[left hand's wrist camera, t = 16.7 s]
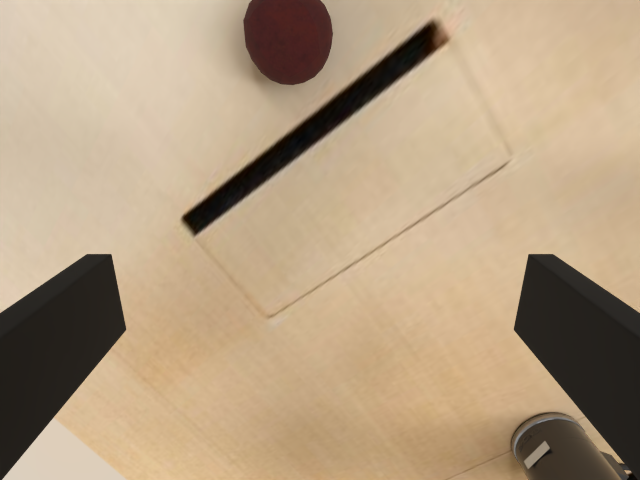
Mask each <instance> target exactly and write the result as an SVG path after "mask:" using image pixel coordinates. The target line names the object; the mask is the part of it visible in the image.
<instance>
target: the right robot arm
mask: <svg viewBox="0 0 640 480" xmlns="http://www.w3.org/2000/svg"><path fill="white" fill-rule="evenodd" d="M511 448H512V451H513V454H514V455H515V457H516V459H517V461H518V462H519V463H520V465H521V467H522V469H523V471H524V472H525V474H526V476H527V478H528V480H626V479H627V478H628V477H629V476H628V475H627V474H626V473H625V471H624V470H630V469H629V468H628V467H627V466H626V464H618V463H617V461H616V460H615V459H614V458H613V457H612V455H609V454H607V453H604V452H601V451H599V450H598V448H597V447H596V446H595V445H594V443H593V442H592V441H591V439H590V438H589V437H588V436H587V434H586V433H585V431H584V429H583V428H582V427H581V426H580V424H579V423H578V422H577V421H576V420H575V419H574V418H572V417H570V416H568V415H565V414H560V413H548V414H542V415H539V416H536V417H533V418H531V419H530V420H528V421H526V422H525V423H523V424H522V425H521V426H520V427H519V428H518V429H517V431H516V432H515V434H514V436H513V438H512V442H511Z"/></svg>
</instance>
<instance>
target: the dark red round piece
mask: <svg viewBox="0 0 640 480" xmlns="http://www.w3.org/2000/svg"><path fill="white" fill-rule="evenodd" d="M244 31H245V42H246V48H247V50H248V52H249V54H250V57H251V59H252V60H253V62H254V63H255V65H256V66H257V67H258V69H259V70H260V71H261V73H263V74H264V75H265V76H267V77H268V78H269V79H270V80H272V81H275V82H277V83H280V84H287V85H294V84H299V83H304V82H306V81H308V80H309V79H311V78H313V77H315V76H316V75H317V74H318V72H319V71H320V70H321V69H322V68H323V66H324V64H325V62H326V60H327V58H328V56H329V52H330V49H331V44H332V36H333V32H332V24H331V19H330V16H329V14H328V11H327V9H326V7H325V5H324V4H323V3H322V2H321V1H320V0H252V1H251V2H250V3H249V6H248V9H247V12H246V15H245V18H244Z"/></svg>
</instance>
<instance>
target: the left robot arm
mask: <svg viewBox="0 0 640 480" xmlns="http://www.w3.org/2000/svg"><path fill="white" fill-rule="evenodd" d="M125 331H126V326H125V321H124V316H123V311H122V306H121V301H120V296H119V290H118V285H117V280H116V275H115V270H114V265H113V260H112V255H111V254H87V255H85V256H84V257H82V258H81V259H79V260H78V261H76V262H75V263H73V264H72V265H70V266H69V267H68V268H66V269H65V270H63V271H62V272H60V273H59V274H57V275H56V276H54V277H53V278H51V279H50V280H48V281H47V282H45V283H44V284H43V285H41V286H40V287H38V288H37V289H35V290H34V291H32V292H31V293H29V294H28V295H26V296H25V297H23V298H22V299H20V300H19V301H18V302H16V303H15V304H13V305H12V306H10V307H9V308H7V309H6V310H4V311H3V312H1V313H0V480H2V479H3V478H4V476H5V475H6V474H7V473H8V472H9V471H10V469H11V468H12V467H13V466H14V464H15V463H16V462H17V461H18V460H19V458H20V457H21V456H22V455H23V454H24V452H25V451H26V450H27V449H28V448H29V446H30V445H31V444H32V443H33V442H34V440H35V439H36V438H37V437H38V435H39V434H40V433H41V432H42V431H43V430H44V428H45V427H46V426H47V425H48V423H49V422H50V421H51V420H52V419H53V417H54V416H55V415H56V414H57V413H58V411H59V410H60V409H61V408H62V407H63V405H64V404H65V403H66V402H67V401H68V399H69V398H70V397H71V396H72V395H73V393H74V392H75V391H76V390H77V388H78V387H79V386H80V385H81V384H82V382H83V381H84V380H85V379H86V378H87V376H88V375H89V374H90V373H91V372H92V370H93V369H94V368H95V367H96V366H97V364H98V363H99V362H100V361H101V360H102V358H103V357H104V356H105V355H106V353H107V352H108V351H109V350H110V349H111V347H112V346H113V345H114V344H115V343H116V341H117V340H118V339H119V338H120V337H121V335H122V334H123V333H124V332H125ZM514 331H515V332H516V333H517V334H518V335H519V337H520V338H521V339H522V340H523V341H524V343H525V344H526V345H527V346H528V347H529V349H530V350H531V351H532V352H533V353H534V355H535V356H536V357H537V358H538V360H539V361H540V362H541V363H542V364H543V366H544V367H545V368H546V369H547V370H548V372H549V373H550V374H551V375H552V376H553V378H554V379H555V380H556V381H557V382H558V384H559V385H560V386H561V387H562V388H563V390H564V391H565V392H566V393H567V395H568V396H569V397H570V398H571V399H572V401H573V402H574V403H575V404H576V405H577V407H578V408H579V409H580V410H581V411H582V413H583V414H584V415H585V416H586V417H587V419H588V420H589V421H590V422H591V423H592V425H593V426H594V427H595V428H596V430H597V431H598V432H599V433H600V434H601V436H602V437H603V438H604V439H605V440H606V442H607V443H608V444H609V445H610V446H611V448H612V449H613V450H614V451H615V452H616V454H617V455H618V456H619V457H620V458H621V460H622V461H623V462H624V463H625V464H626V466H627V467H628V468H629V469H630V471H631V472H632V473H633V474H634V475H635V477H636V478H637V479H638V480H640V313H639V312H637V311H636V310H634V309H633V308H631V307H630V306H628V305H627V304H625V303H624V302H622V301H621V300H620V299H618V298H617V297H615V296H614V295H612V294H611V293H609V292H608V291H606V290H605V289H603V288H602V287H600V286H599V285H597V284H596V283H595V282H593V281H592V280H590V279H589V278H587V277H586V276H584V275H583V274H581V273H580V272H578V271H577V270H575V269H574V268H572V267H571V266H570V265H568V264H567V263H565V262H564V261H562V260H561V259H559V258H558V257H556V256H555V255H553V254H529V255H528V260H527V265H526V270H525V275H524V280H523V285H522V290H521V296H520V301H519V306H518V311H517V316H516V321H515V326H514Z"/></svg>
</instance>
